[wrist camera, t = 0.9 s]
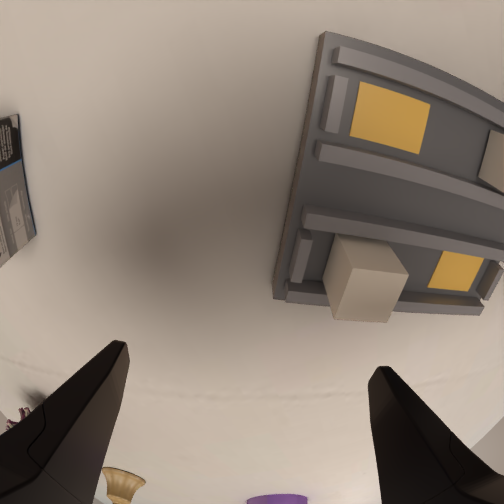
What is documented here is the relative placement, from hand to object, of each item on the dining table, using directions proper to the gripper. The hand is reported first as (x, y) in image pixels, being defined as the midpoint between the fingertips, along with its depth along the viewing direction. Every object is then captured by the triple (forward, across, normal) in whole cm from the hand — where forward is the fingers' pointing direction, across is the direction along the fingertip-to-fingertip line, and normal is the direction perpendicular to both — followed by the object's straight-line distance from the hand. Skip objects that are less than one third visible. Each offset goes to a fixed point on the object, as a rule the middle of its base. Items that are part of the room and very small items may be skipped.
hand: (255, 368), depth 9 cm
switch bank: (+10, -10, -4) cm, 15 cm away
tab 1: (+8, -6, 0) cm, 10 cm away
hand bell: (+11, +16, +52) cm, 55 cm away
